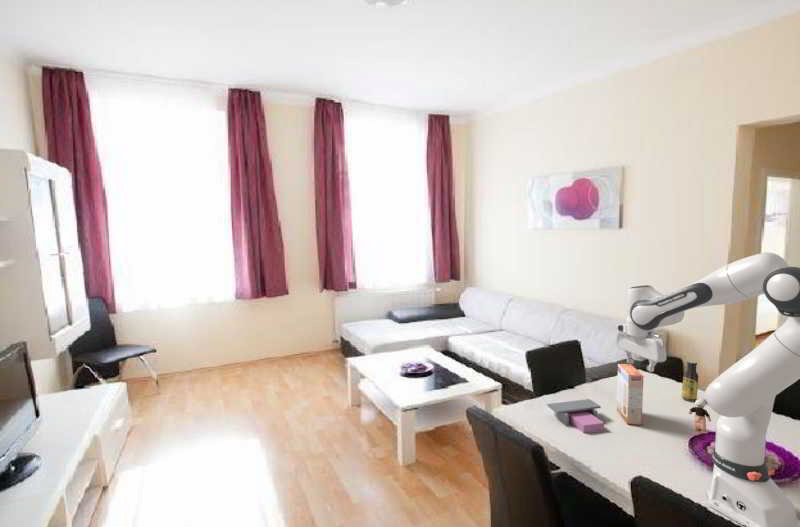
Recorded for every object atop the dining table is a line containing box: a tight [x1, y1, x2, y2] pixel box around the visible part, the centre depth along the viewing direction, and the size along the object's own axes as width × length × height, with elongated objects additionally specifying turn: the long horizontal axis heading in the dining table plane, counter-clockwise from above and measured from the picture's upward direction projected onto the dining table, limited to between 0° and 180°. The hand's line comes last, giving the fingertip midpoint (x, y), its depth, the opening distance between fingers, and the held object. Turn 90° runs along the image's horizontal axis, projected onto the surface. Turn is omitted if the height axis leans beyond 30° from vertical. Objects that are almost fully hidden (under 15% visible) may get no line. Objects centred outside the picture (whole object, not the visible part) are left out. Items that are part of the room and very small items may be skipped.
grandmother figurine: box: [688, 398, 712, 434], centre depth 162 cm, size 8×4×13 cm, turn 41°
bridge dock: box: [546, 398, 602, 426], centre depth 175 cm, size 10×20×5 cm, turn 101°
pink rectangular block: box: [566, 410, 605, 434], centre depth 171 cm, size 15×9×4 cm, turn 11°
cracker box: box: [616, 363, 645, 426], centre depth 174 cm, size 14×6×21 cm, turn 168°
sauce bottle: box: [681, 360, 699, 403], centre depth 189 cm, size 6×6×18 cm
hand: (640, 367), depth 152 cm, fingers open, 8 cm apart
